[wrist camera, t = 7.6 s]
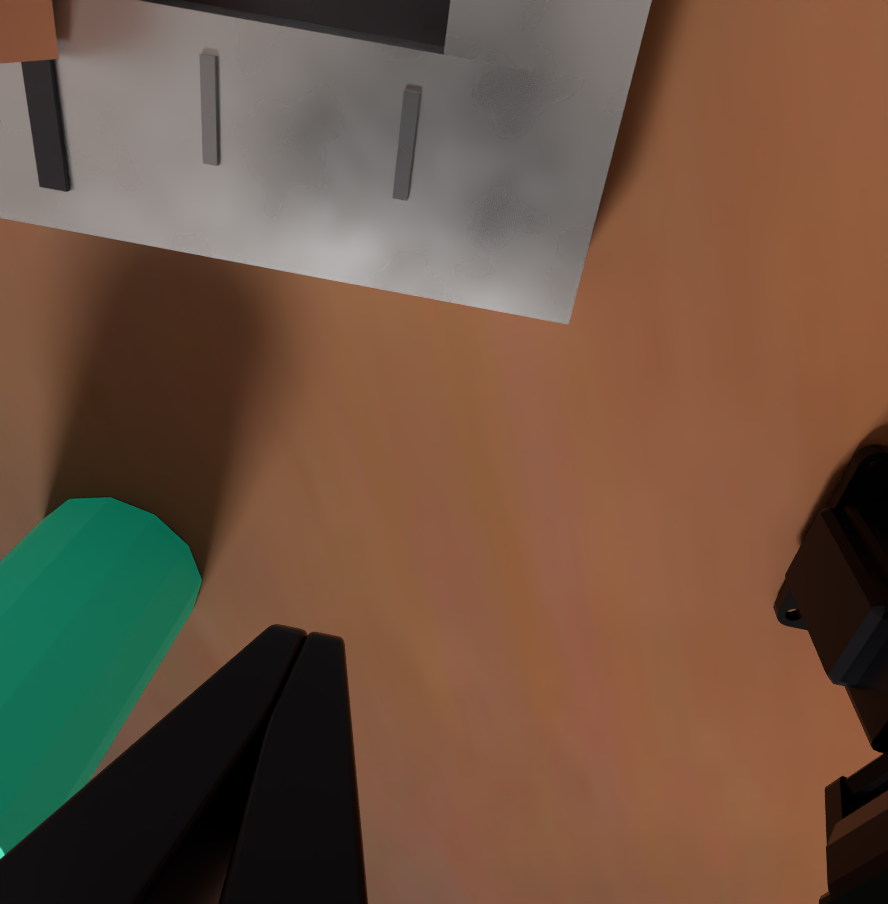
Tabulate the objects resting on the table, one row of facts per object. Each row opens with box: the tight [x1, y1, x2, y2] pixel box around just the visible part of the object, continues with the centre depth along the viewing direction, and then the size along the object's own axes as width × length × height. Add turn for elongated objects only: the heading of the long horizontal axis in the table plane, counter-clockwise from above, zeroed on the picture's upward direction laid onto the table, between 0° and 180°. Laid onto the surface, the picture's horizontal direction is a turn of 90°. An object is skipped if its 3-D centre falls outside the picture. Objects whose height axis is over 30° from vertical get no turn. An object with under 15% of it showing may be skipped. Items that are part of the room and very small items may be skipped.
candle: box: [0, 497, 202, 859], centre depth 20 cm, size 6×6×12 cm
